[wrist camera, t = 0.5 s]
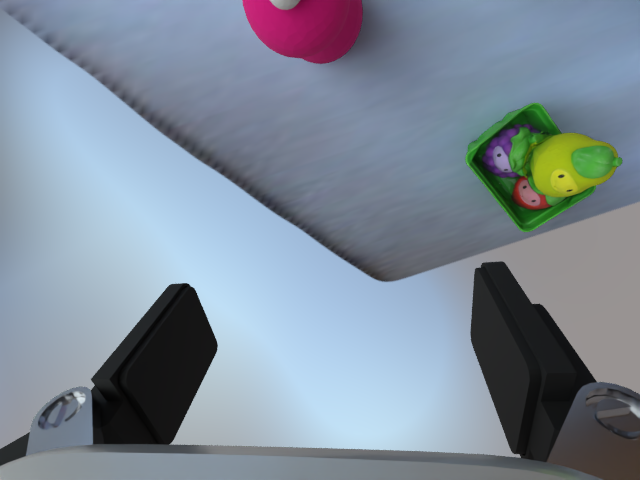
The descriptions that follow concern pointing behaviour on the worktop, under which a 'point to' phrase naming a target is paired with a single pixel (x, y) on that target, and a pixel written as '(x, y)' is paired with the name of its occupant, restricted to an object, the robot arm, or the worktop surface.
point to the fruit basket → (538, 166)
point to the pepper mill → (306, 26)
